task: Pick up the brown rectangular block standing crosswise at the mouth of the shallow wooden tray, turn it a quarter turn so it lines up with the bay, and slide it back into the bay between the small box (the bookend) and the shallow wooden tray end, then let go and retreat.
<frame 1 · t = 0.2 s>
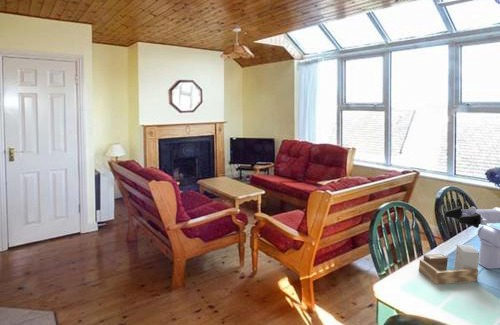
hand: (452, 216, 148), 21 cm above the table, tool horizontal, fingers open, 7 cm apart
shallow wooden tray: (447, 276, 144), on the table
brown rectangular block: (434, 268, 151), on the table
small box: (464, 274, 146), on the table
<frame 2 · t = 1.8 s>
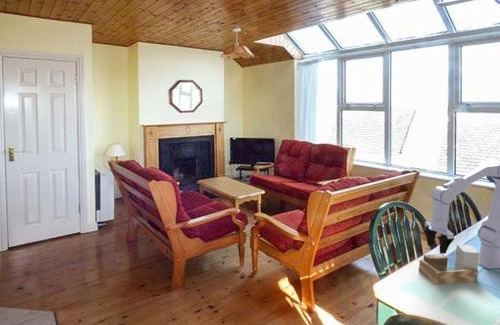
hand: (436, 249, 149), 8 cm above the table, tool pointing down, fingers open, 7 cm apart
nothing on the table moved.
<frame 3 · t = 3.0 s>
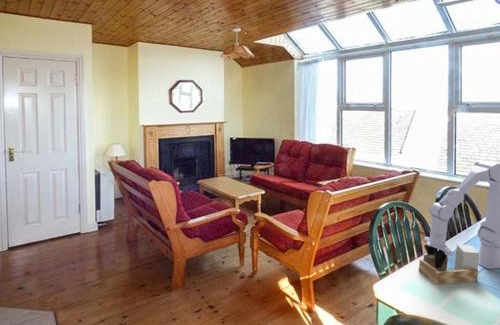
hand: (434, 264, 151), 1 cm above the table, tool pointing down, fingers closed on brown rectangular block, 4 cm apart
brown rectangular block: (434, 268, 151), on the table, touching gripper
everything else where it was.
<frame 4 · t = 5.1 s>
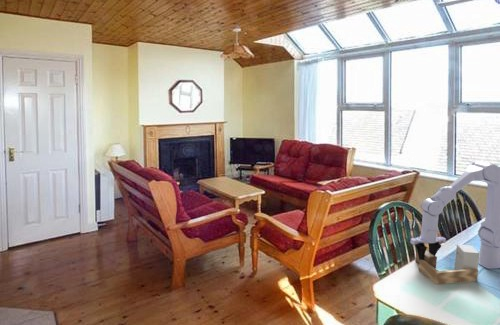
hand: (426, 259, 153), 2 cm above the table, tool pointing down, fingers closed on brown rectangular block, 4 cm apart
brown rectangular block: (425, 265, 153), on the table, touching gripper
everything else where it was.
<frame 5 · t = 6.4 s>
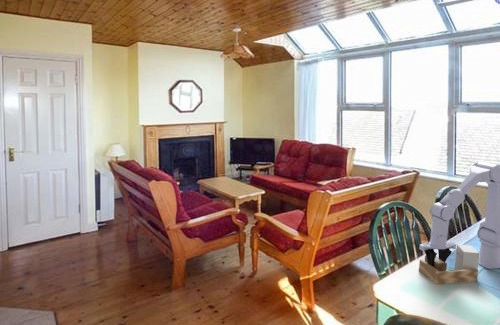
hand: (435, 266, 147), 2 cm above the table, tool pointing down, fingers closed on brown rectangular block, 4 cm apart
brown rectangular block: (434, 271, 148), on the table, touching gripper
everything else where it was.
when the fingers open (2 cm above the table, at t = 7.6 s): brown rectangular block stays where it is, on the table.
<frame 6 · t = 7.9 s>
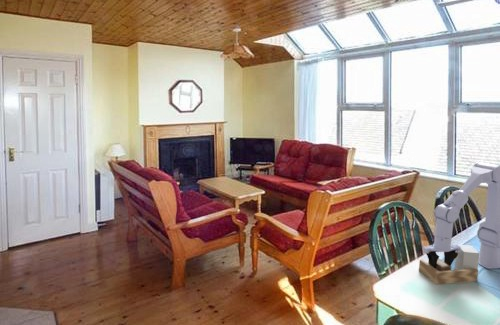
hand: (439, 269, 145), 2 cm above the table, tool pointing down, fingers open, 5 cm apart
brown rectangular block: (438, 274, 145), on the table
everything else where it was.
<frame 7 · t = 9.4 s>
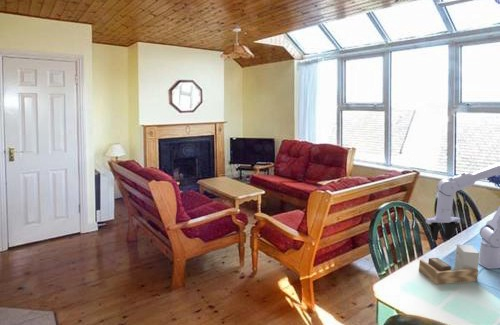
hand: (440, 239, 157), 9 cm above the table, tool pointing down, fingers open, 5 cm apart
nothing on the table moved.
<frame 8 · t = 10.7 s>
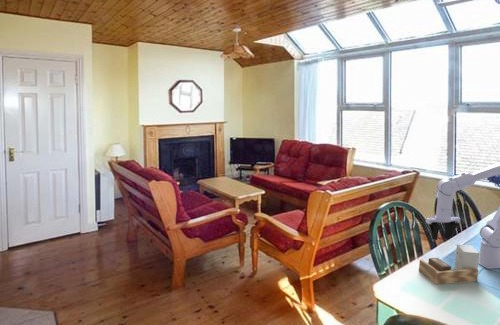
hand: (440, 238, 157), 9 cm above the table, tool pointing down, fingers open, 5 cm apart
nothing on the table moved.
at the end: brown rectangular block inside the target area (1.0 cm from its centre), on the table; brown rectangular block tilted 0°; the gripper is holding nothing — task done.
